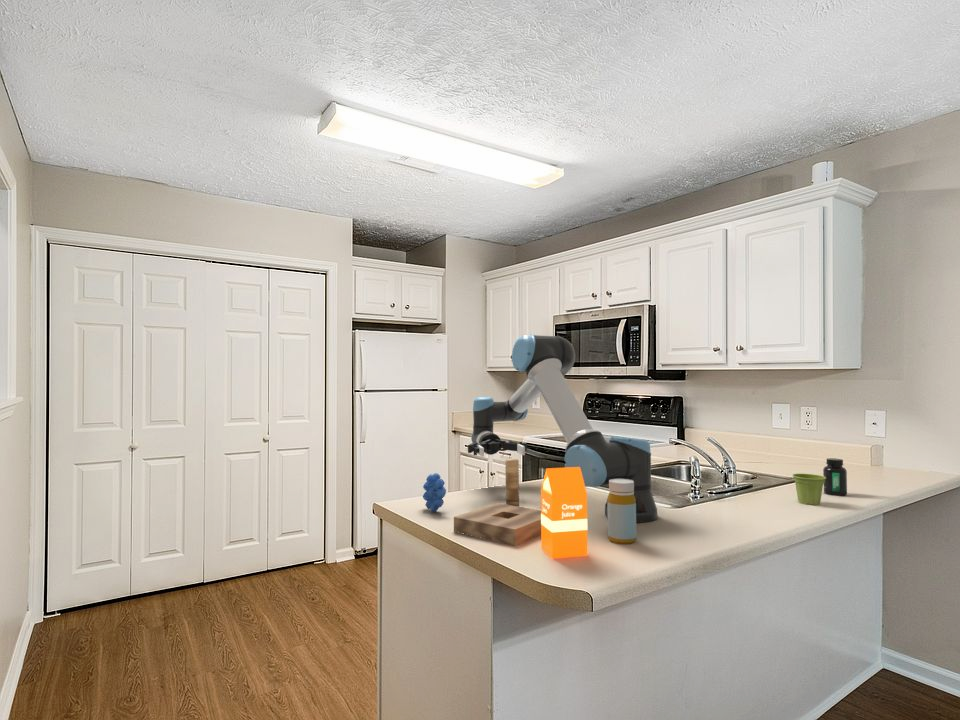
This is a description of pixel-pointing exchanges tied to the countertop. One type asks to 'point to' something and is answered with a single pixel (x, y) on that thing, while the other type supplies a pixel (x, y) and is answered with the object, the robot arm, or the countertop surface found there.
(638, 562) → the countertop surface
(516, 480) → the oak leg
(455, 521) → the walnut board
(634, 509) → the bottle
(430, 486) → the grapes
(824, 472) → the supplement bottle
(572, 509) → the orange juice
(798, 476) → the plant pot
